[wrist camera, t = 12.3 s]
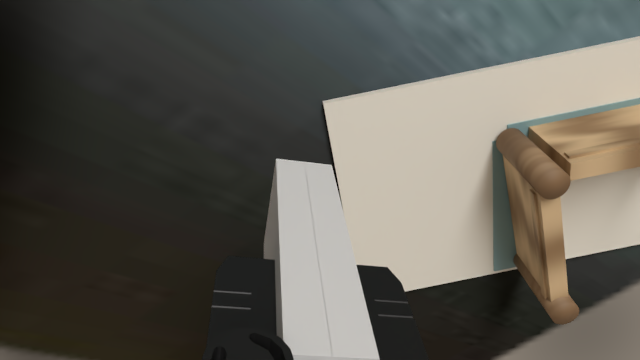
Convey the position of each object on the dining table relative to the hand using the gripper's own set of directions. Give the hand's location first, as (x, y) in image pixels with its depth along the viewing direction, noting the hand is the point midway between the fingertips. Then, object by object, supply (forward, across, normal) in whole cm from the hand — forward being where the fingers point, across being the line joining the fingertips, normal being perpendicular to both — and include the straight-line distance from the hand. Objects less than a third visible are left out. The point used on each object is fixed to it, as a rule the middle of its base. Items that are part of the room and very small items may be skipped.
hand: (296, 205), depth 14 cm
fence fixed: (+24, +27, -4) cm, 36 cm away
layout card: (+24, +21, -10) cm, 34 cm away
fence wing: (+23, +22, -12) cm, 34 cm away
